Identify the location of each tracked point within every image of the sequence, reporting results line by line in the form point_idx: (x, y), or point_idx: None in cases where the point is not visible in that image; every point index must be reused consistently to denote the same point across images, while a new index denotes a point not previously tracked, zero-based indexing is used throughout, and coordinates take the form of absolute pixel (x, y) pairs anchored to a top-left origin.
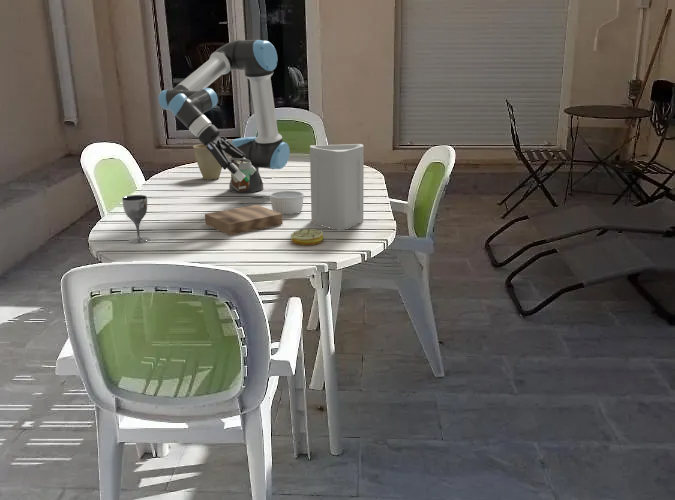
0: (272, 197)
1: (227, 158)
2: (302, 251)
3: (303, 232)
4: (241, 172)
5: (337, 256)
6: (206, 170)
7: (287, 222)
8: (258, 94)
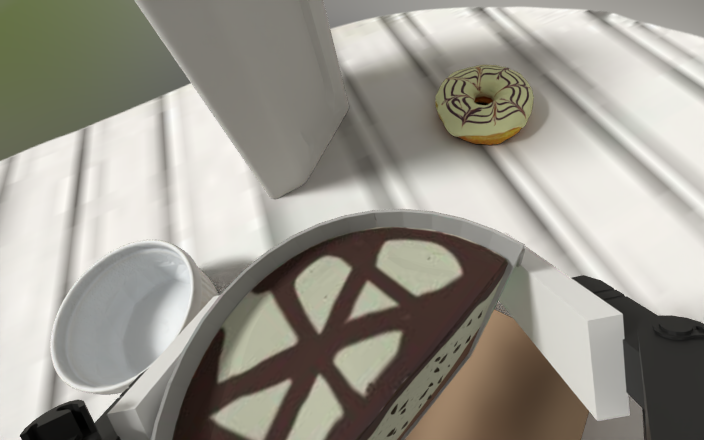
0: None
1: (695, 399)
2: (566, 85)
3: (482, 105)
4: None
5: (546, 23)
6: None
7: None
8: None
